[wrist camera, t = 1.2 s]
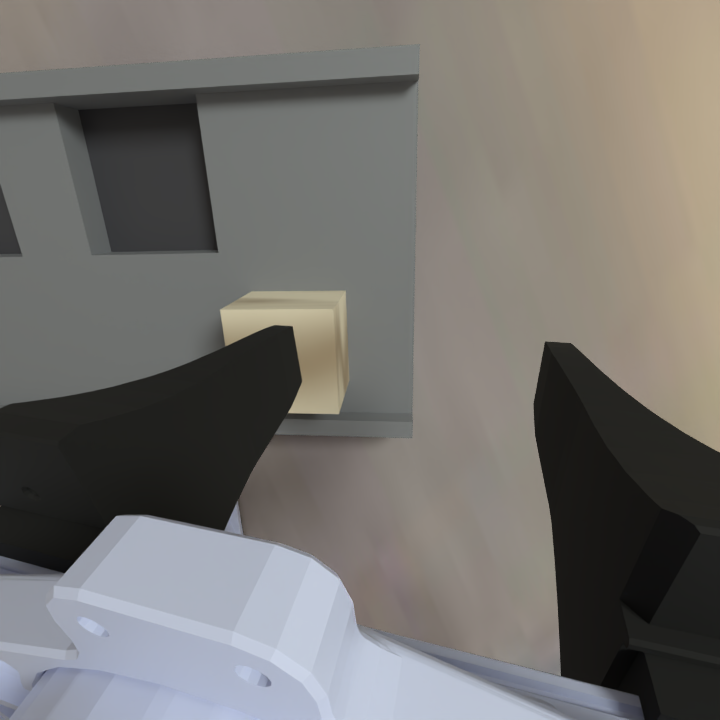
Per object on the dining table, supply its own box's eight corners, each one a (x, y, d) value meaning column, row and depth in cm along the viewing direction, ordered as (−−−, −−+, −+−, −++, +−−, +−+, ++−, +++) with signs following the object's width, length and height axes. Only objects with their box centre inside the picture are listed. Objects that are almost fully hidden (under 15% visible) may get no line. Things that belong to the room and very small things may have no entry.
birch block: (349, 380, 23) (338, 414, 19) (262, 378, 23) (235, 412, 20) (345, 290, 21) (333, 309, 17) (251, 291, 22) (219, 309, 18)
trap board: (411, 412, 26) (412, 443, 22) (-102, 401, 29) (-166, 426, 26) (417, 67, 19) (420, 39, 16) (-239, 109, 23) (-346, 93, 20)
